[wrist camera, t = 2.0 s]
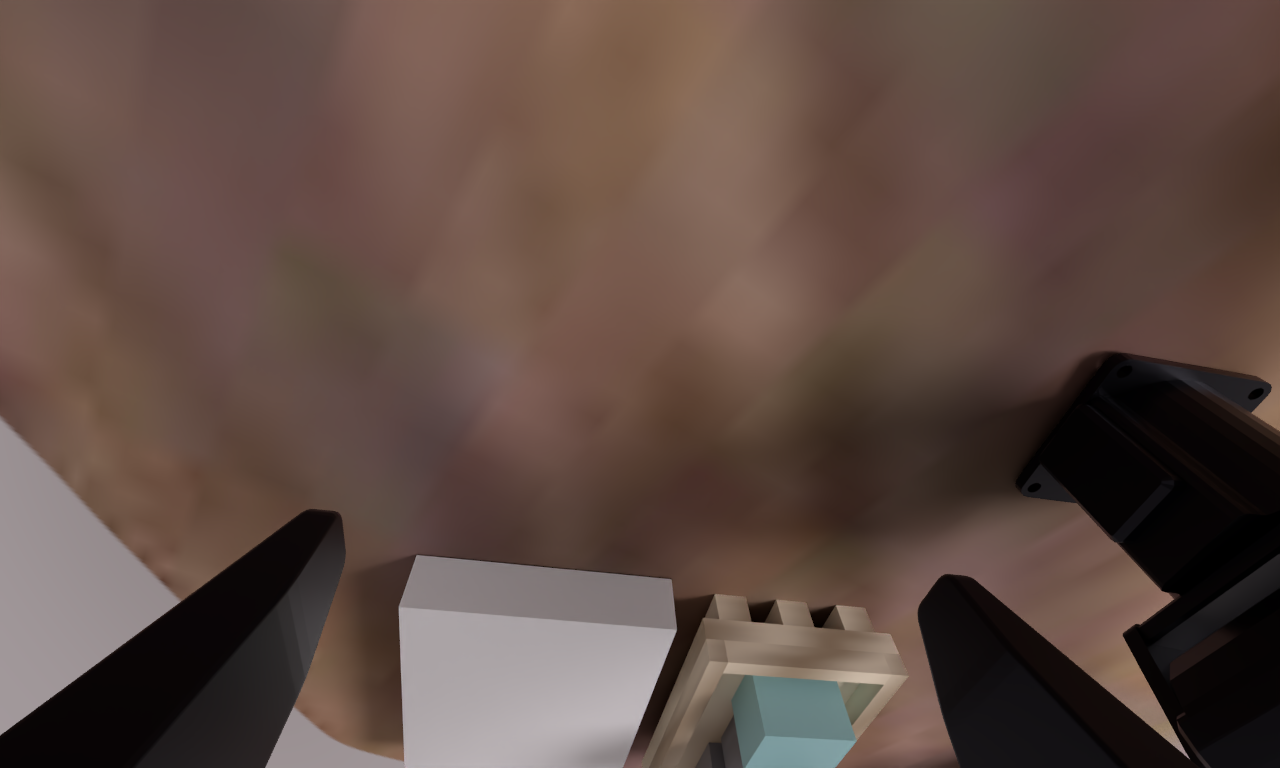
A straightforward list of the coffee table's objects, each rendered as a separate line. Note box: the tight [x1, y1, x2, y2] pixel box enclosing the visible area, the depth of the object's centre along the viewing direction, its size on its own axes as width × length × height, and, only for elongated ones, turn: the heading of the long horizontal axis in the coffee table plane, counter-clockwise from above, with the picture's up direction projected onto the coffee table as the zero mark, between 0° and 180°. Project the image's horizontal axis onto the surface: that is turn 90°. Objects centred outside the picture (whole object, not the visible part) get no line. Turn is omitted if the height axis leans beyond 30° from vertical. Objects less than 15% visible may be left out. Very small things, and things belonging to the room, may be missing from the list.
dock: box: [399, 555, 677, 768], centre depth 28 cm, size 11×15×2 cm
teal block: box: [731, 675, 857, 768], centre depth 26 cm, size 4×3×3 cm
